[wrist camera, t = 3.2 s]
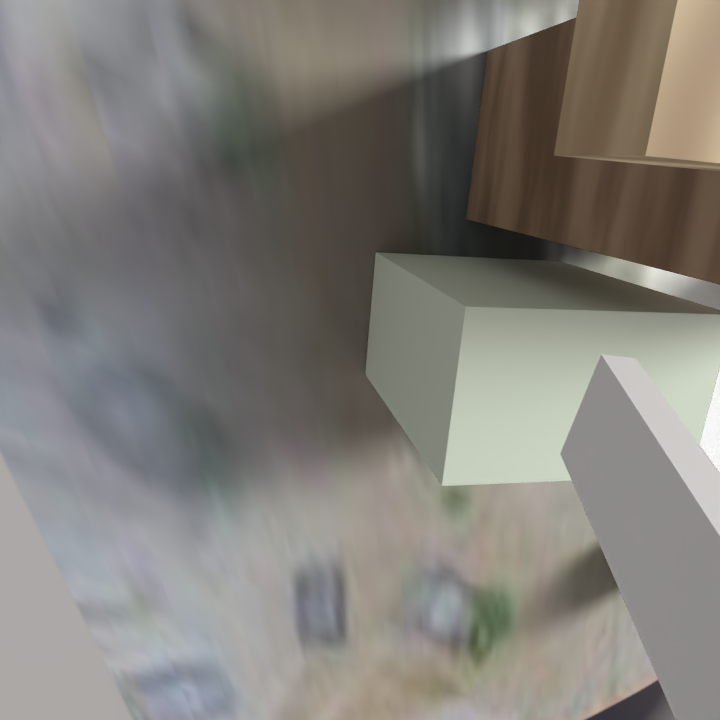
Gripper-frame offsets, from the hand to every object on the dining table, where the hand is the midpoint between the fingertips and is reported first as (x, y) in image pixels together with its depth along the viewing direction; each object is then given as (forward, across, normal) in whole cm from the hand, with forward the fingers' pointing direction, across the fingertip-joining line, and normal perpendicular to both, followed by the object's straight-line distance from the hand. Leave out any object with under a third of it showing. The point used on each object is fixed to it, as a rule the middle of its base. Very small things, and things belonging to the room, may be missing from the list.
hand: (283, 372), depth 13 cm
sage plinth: (+34, +13, -16) cm, 40 cm away
